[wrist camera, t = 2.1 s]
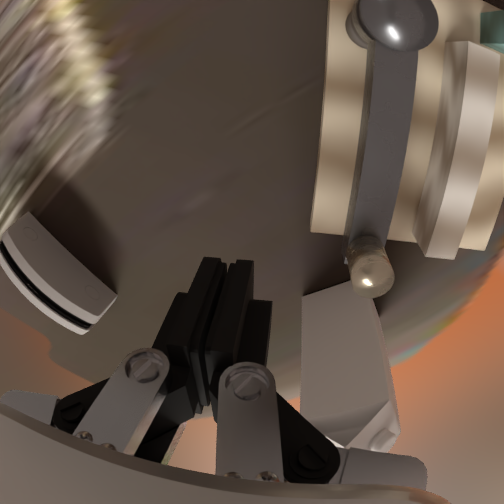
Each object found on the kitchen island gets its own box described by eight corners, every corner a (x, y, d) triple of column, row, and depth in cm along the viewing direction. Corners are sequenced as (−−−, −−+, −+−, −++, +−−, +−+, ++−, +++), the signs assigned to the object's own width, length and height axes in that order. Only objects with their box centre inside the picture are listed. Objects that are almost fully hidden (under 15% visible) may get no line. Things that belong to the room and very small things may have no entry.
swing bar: (352, -18, 13) (372, -44, 8) (419, -2, 13) (459, -18, 8) (326, 246, 23) (333, 295, 18) (383, 251, 23) (400, 299, 18)
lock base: (328, -38, 16) (343, -81, 9) (520, 25, 15) (581, 28, 7) (310, 224, 29) (314, 285, 22) (478, 243, 28) (517, 296, 20)
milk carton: (323, 335, 37) (325, 487, 22) (301, 295, 34) (296, 467, 18) (379, 318, 35) (406, 472, 19) (363, 273, 32) (397, 448, 16)
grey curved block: (17, 232, 35) (-23, 258, 25) (33, 206, 34) (-9, 227, 25) (103, 312, 40) (81, 355, 31) (122, 290, 40) (102, 332, 30)
